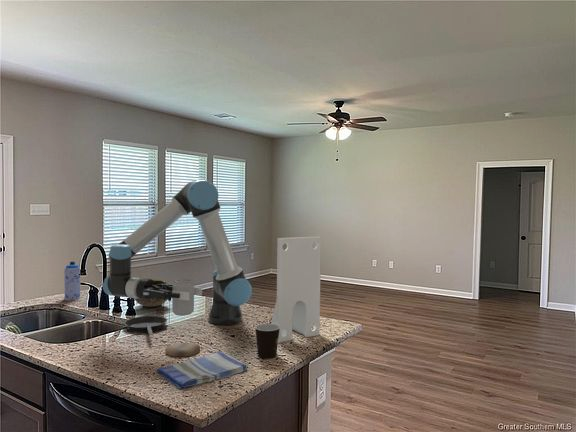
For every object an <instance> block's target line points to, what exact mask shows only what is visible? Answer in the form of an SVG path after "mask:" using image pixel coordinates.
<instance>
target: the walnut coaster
mask: <svg viewBox="0 0 576 432" xmlns="http://www.w3.org/2000/svg"><path fill="white" fill-rule="evenodd" d="M200 351H201V346H200V345H199V344H197V343H194V342H177V343H172V344H170V345H168V346H166V347H165V355H167V356H169V357H173V358H185V357H191V356H195V355H197V354H198V353H200Z"/></svg>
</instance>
